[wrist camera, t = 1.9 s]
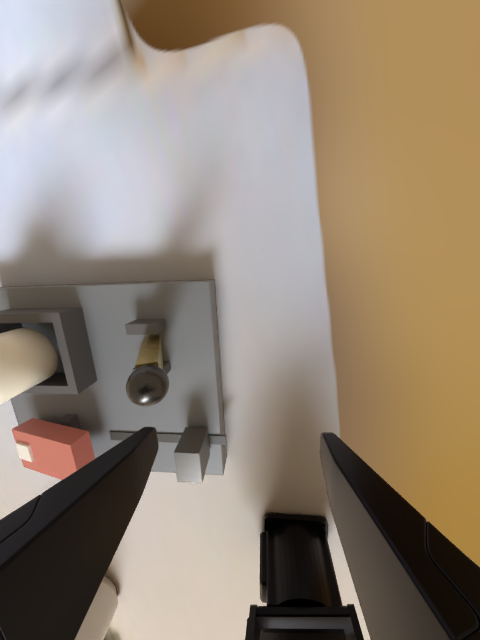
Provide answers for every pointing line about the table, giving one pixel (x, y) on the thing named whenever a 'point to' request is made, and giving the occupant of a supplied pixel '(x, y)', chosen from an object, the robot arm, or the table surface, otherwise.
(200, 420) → the panel
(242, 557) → the table surface
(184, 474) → the slider
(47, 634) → the robot arm
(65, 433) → the rocker
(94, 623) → the can
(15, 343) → the button
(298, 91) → the table surface
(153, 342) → the lever
